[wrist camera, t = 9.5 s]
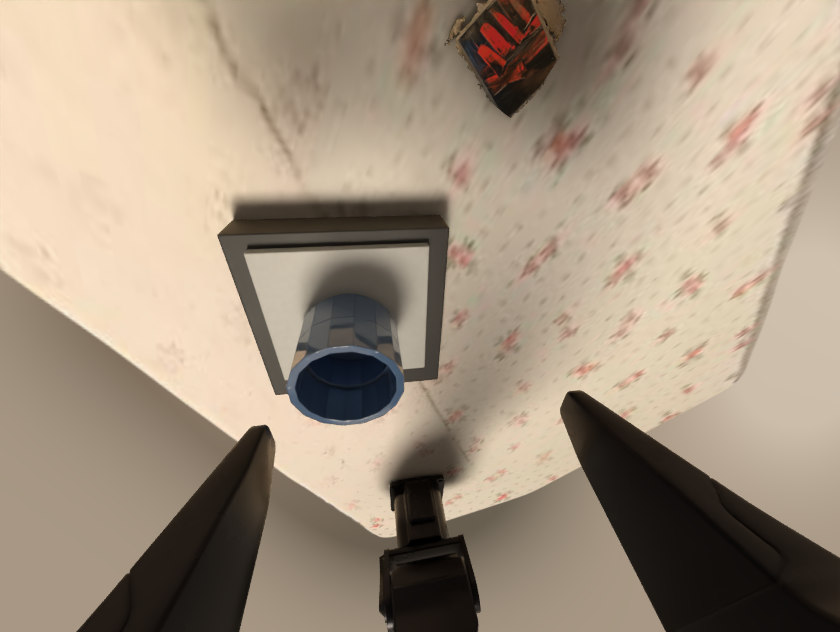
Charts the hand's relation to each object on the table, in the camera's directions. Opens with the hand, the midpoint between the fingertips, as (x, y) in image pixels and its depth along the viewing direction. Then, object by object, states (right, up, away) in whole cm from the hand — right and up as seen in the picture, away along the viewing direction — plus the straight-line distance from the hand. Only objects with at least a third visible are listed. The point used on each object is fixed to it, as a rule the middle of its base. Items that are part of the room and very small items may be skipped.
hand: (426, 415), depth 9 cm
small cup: (-4, +2, +10) cm, 11 cm away
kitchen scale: (-5, +4, +12) cm, 14 cm away
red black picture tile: (+4, +16, +6) cm, 18 cm away
